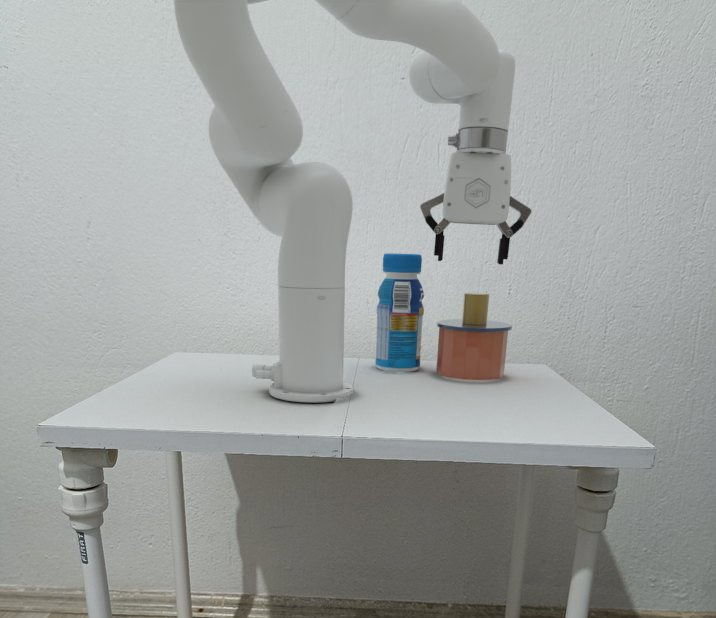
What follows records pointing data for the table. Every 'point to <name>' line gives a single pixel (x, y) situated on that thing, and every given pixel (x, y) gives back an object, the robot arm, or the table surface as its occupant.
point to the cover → (475, 316)
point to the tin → (471, 354)
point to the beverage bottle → (400, 314)
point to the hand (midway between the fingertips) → (469, 262)
